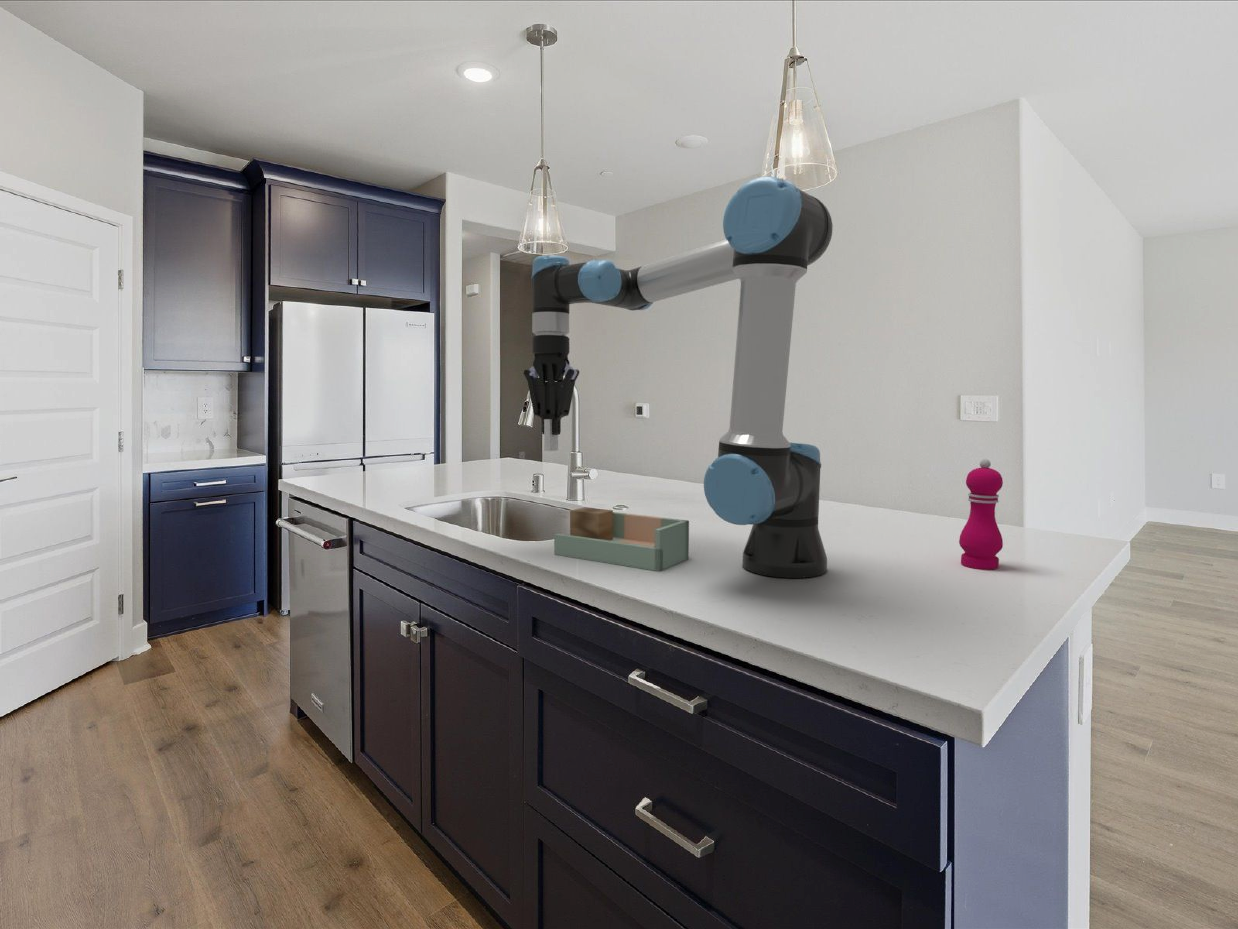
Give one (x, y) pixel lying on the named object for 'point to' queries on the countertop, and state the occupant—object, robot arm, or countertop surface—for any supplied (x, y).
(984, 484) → the pepper mill
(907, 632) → the countertop surface
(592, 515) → the block
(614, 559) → the green open tray
